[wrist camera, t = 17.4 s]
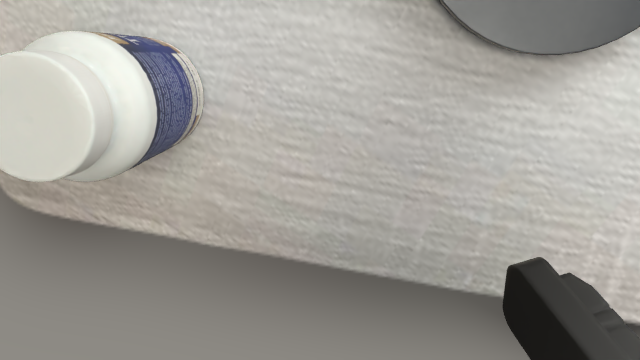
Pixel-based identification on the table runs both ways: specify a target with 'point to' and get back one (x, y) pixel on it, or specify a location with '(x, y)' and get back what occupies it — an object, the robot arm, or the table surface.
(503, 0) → the tin lid
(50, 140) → the pill bottle
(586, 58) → the table surface
